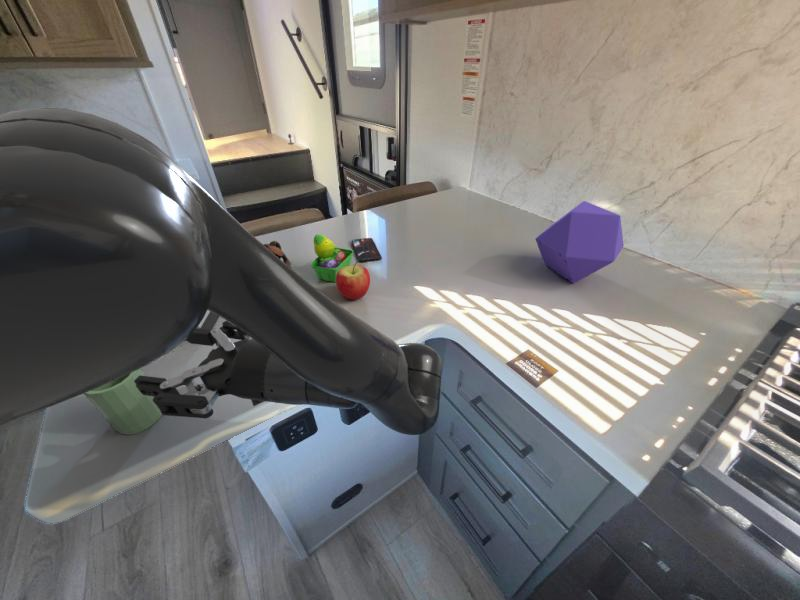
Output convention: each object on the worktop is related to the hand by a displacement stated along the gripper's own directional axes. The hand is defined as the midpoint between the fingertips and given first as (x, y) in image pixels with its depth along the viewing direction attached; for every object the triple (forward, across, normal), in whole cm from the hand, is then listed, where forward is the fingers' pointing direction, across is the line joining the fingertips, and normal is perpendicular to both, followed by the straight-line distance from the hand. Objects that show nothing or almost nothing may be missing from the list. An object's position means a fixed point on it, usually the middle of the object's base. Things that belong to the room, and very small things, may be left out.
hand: (165, 357), depth 42 cm
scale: (+22, -24, +15) cm, 36 cm away
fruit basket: (-6, -49, +16) cm, 52 cm away
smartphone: (-12, -64, +16) cm, 67 cm away
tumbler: (+11, 0, +15) cm, 19 cm away
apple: (-14, -39, +16) cm, 44 cm away
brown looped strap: (+12, -49, +16) cm, 53 cm away
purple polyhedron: (-73, -61, +16) cm, 96 cm away
